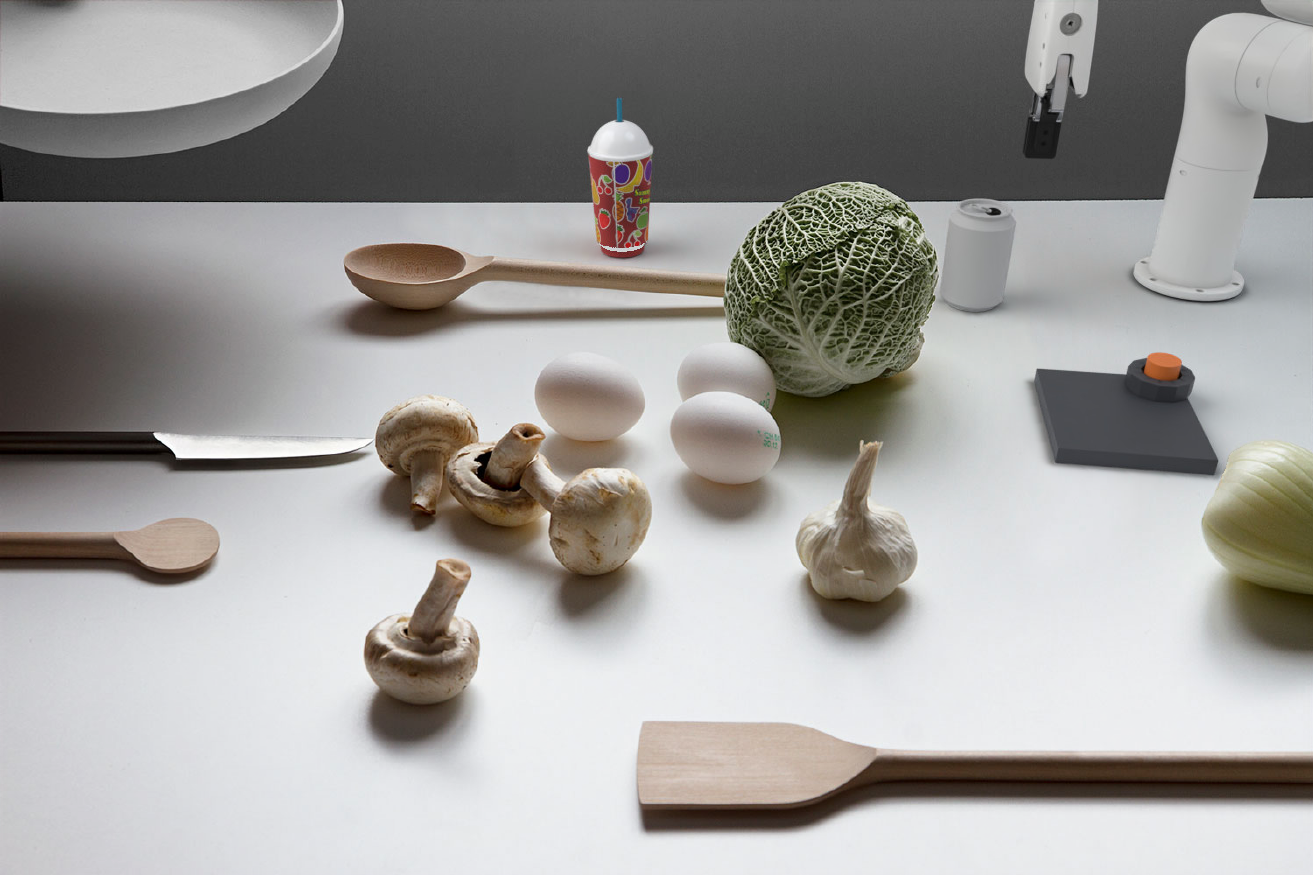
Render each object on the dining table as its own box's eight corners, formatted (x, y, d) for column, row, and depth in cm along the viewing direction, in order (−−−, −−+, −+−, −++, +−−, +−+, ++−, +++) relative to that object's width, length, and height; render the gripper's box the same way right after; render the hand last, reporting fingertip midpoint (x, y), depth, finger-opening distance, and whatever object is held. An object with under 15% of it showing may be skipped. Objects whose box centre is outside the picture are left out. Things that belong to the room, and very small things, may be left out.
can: (1004, 317, 132) (1020, 219, 126) (938, 312, 134) (952, 214, 127) (1000, 291, 139) (1016, 197, 132) (938, 287, 140) (950, 193, 134)
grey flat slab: (1033, 380, 119) (1038, 350, 117) (1178, 390, 117) (1186, 359, 115) (1055, 463, 105) (1061, 431, 103) (1220, 476, 103) (1230, 443, 101)
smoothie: (653, 262, 147) (652, 107, 137) (589, 262, 147) (583, 108, 137) (654, 238, 154) (653, 90, 144) (593, 239, 154) (587, 90, 144)
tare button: (1140, 366, 115) (1144, 351, 114) (1173, 368, 114) (1177, 353, 114) (1147, 381, 112) (1151, 365, 111) (1181, 383, 112) (1185, 367, 111)
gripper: (1126, -13, 105) (1089, 180, 114) (1092, -39, 117) (1061, 137, 127) (1042, -14, 105) (1012, 178, 115) (1018, -39, 118) (993, 135, 128)
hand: (1038, 156), depth 121 cm, fingers closed
